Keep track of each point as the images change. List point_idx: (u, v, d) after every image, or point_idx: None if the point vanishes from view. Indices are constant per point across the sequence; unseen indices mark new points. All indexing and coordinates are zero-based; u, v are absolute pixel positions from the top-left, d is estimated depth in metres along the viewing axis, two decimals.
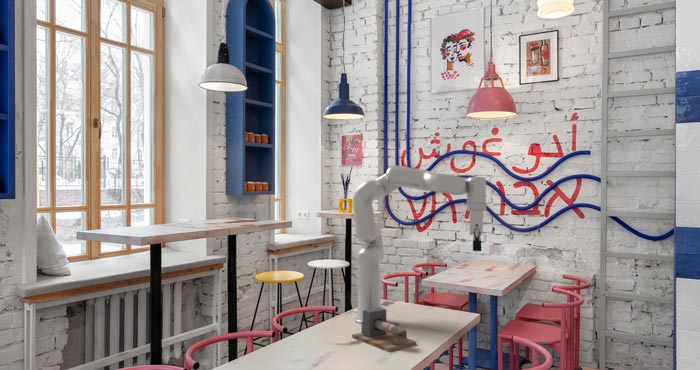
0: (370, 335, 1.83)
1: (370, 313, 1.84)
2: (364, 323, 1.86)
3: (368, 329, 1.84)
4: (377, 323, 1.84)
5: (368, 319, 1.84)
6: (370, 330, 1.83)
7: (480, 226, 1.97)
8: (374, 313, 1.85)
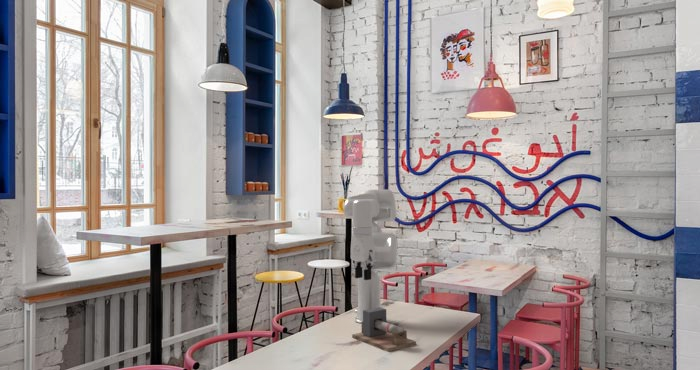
0: (370, 335, 1.83)
1: (370, 313, 1.84)
2: (364, 323, 1.86)
3: (368, 329, 1.84)
4: (377, 323, 1.84)
5: (368, 319, 1.84)
6: (370, 330, 1.83)
7: (373, 251, 1.90)
8: (374, 313, 1.85)
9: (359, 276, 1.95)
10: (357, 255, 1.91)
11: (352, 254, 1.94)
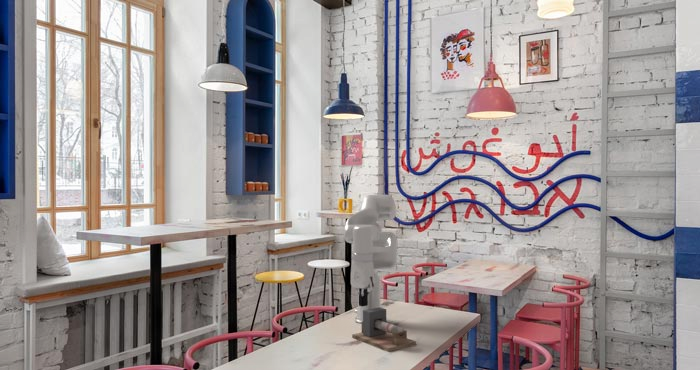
0: (370, 335, 1.83)
1: (370, 313, 1.84)
2: (364, 323, 1.86)
3: (368, 329, 1.84)
4: (377, 323, 1.84)
5: (368, 319, 1.84)
6: (370, 330, 1.83)
7: (373, 278, 1.90)
8: (374, 313, 1.85)
9: None
10: (357, 282, 1.91)
11: (352, 280, 1.94)
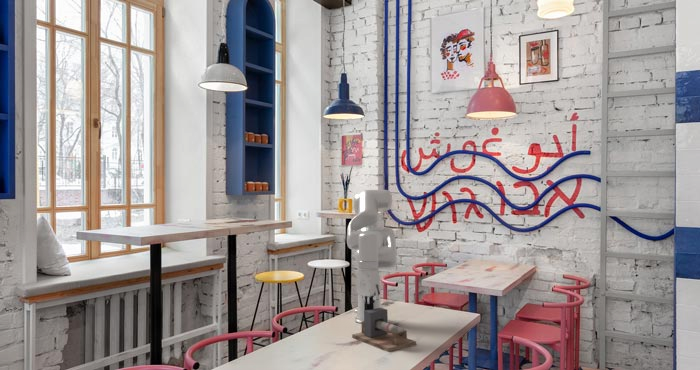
0: (371, 335, 1.83)
1: (371, 313, 1.83)
2: (365, 323, 1.85)
3: (369, 329, 1.83)
4: (377, 323, 1.84)
5: (369, 319, 1.83)
6: (371, 330, 1.83)
7: (379, 286, 1.87)
8: (375, 313, 1.84)
9: None
10: (363, 289, 1.88)
11: (358, 288, 1.91)
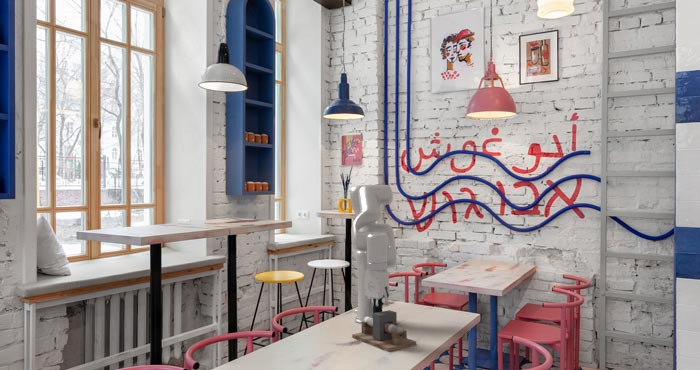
0: (380, 339, 1.79)
1: (380, 316, 1.79)
2: (374, 326, 1.81)
3: (378, 333, 1.79)
4: None
5: (378, 322, 1.79)
6: (380, 334, 1.79)
7: (388, 288, 1.83)
8: (384, 316, 1.80)
9: None
10: (371, 292, 1.84)
11: (366, 290, 1.87)
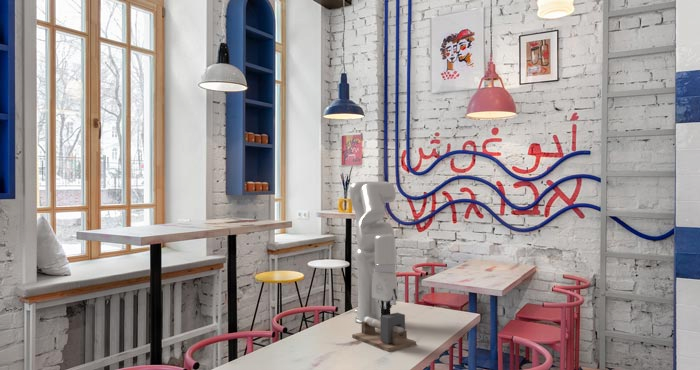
0: (388, 342, 1.75)
1: (388, 319, 1.75)
2: (382, 329, 1.77)
3: (386, 335, 1.75)
4: (377, 323, 1.84)
5: (386, 325, 1.75)
6: (388, 337, 1.75)
7: (397, 290, 1.79)
8: (392, 319, 1.76)
9: None
10: (379, 294, 1.80)
11: (374, 292, 1.83)
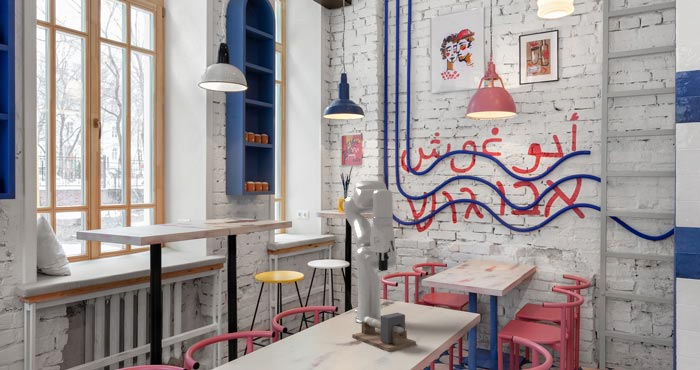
0: (388, 342, 1.75)
1: (388, 319, 1.75)
2: (382, 329, 1.77)
3: (386, 336, 1.75)
4: (377, 323, 1.84)
5: (386, 325, 1.75)
6: (388, 337, 1.75)
7: (394, 242, 1.87)
8: (392, 319, 1.76)
9: None
10: (377, 246, 1.88)
11: (372, 245, 1.91)
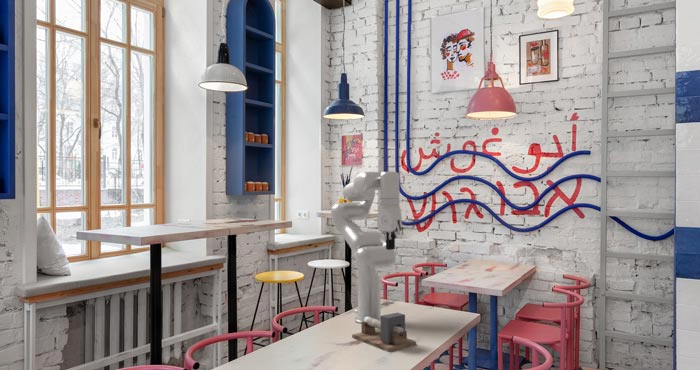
0: (388, 342, 1.75)
1: (388, 319, 1.75)
2: (382, 329, 1.77)
3: (386, 336, 1.75)
4: (377, 323, 1.84)
5: (386, 325, 1.75)
6: (388, 337, 1.75)
7: (401, 221, 1.94)
8: (392, 319, 1.76)
9: None
10: (385, 225, 1.95)
11: (379, 225, 1.98)
